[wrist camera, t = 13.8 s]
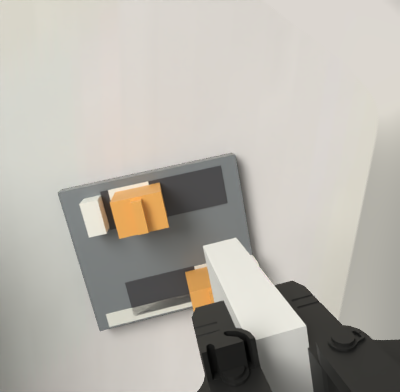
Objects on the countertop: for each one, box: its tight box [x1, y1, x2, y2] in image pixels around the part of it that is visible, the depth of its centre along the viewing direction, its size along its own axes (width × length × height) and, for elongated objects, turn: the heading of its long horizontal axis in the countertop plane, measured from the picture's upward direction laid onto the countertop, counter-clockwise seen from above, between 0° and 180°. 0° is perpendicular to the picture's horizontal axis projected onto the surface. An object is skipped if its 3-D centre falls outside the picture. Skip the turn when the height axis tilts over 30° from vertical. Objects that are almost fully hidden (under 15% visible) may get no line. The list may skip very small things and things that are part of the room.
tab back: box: [185, 267, 215, 311], centre depth 31 cm, size 4×3×5 cm
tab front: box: [110, 183, 169, 239], centre depth 28 cm, size 4×3×5 cm
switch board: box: [58, 153, 259, 331], centre depth 32 cm, size 16×14×4 cm
